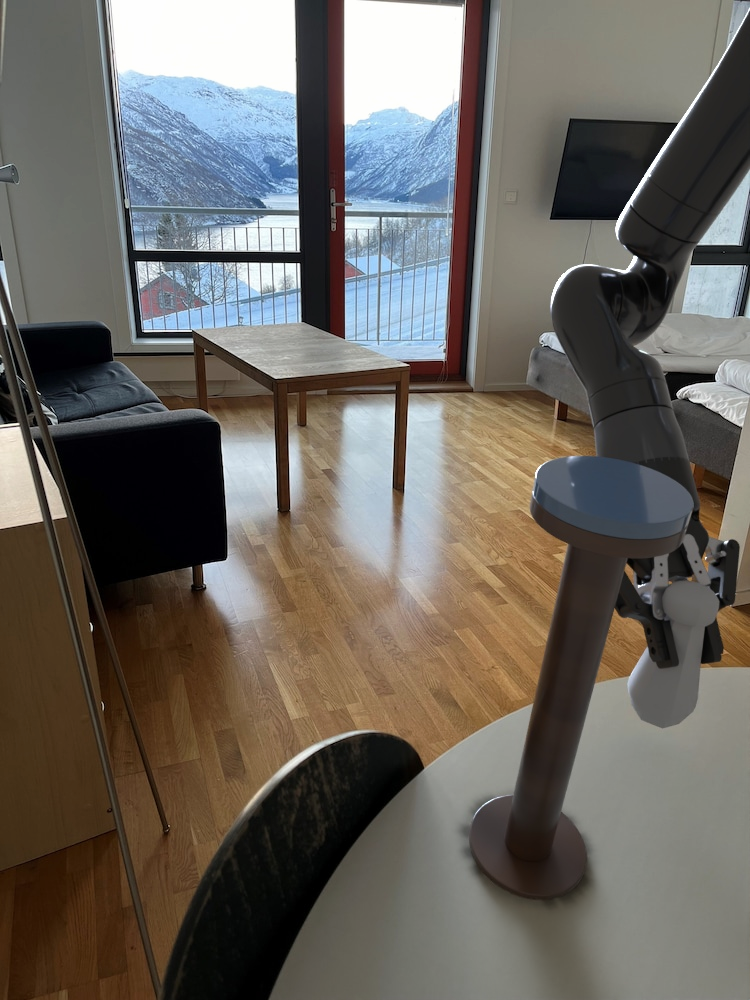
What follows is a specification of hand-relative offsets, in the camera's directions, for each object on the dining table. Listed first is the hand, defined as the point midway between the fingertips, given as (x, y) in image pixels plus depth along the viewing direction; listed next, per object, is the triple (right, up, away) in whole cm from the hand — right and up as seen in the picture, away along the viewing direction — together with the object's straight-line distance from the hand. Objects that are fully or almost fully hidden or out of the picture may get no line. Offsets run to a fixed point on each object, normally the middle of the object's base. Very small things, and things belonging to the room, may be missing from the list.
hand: (689, 664), depth 61 cm
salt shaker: (-1, -5, +5) cm, 7 cm away
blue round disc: (-12, +13, -17) cm, 25 cm away
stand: (-14, -14, -3) cm, 20 cm away
